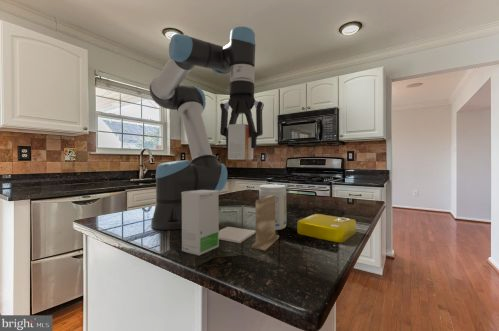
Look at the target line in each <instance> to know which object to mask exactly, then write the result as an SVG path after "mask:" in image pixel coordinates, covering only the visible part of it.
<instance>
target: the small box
mask: <svg viewBox="0 0 499 331" xmlns="http://www.w3.org/2000/svg"><path fill="white" fill-rule="evenodd" d="M227 128H228V148H227V159H228V160H241V161H243V160H249V159H248V138H251V134H250V130H249V126H248V123H236V124H231V125H229V124H227ZM254 149H255V148H253V152H254Z"/></svg>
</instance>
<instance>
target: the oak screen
mask: <svg viewBox="0 0 499 331" xmlns="http://www.w3.org/2000/svg"><path fill="white" fill-rule="evenodd" d="M255 231H256V233H255V242H253V243H252V244H251V247H250V248H251V249H256V250H262V251H266V250H268V248H270V247H271V246H272V245H273V244H275V242H276V241H278V239H279V238H280V234H279V235H278V234H276V230H275V195H269V196H266V197H264V198H261V199H256V200H255Z"/></svg>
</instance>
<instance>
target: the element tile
mask: <svg viewBox="0 0 499 331" xmlns="http://www.w3.org/2000/svg"><path fill="white" fill-rule="evenodd" d="M296 224H297V226H296V227H297V231H296V232H297V234H299V235H302V236H307V237H310V238H315V239H319V240H325V241H328V242H334V243H344V242H346V241H347V240H348V239H350V238H351V237H352V236H353V235H355V234H356V233H357V228H356V227H357V221H356V219H353V218H348V217H340V216H334V215H326V214H321V213H315V214H311V215H309V216H306V217H303V218H301V219H299V220H297V222H296Z"/></svg>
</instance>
